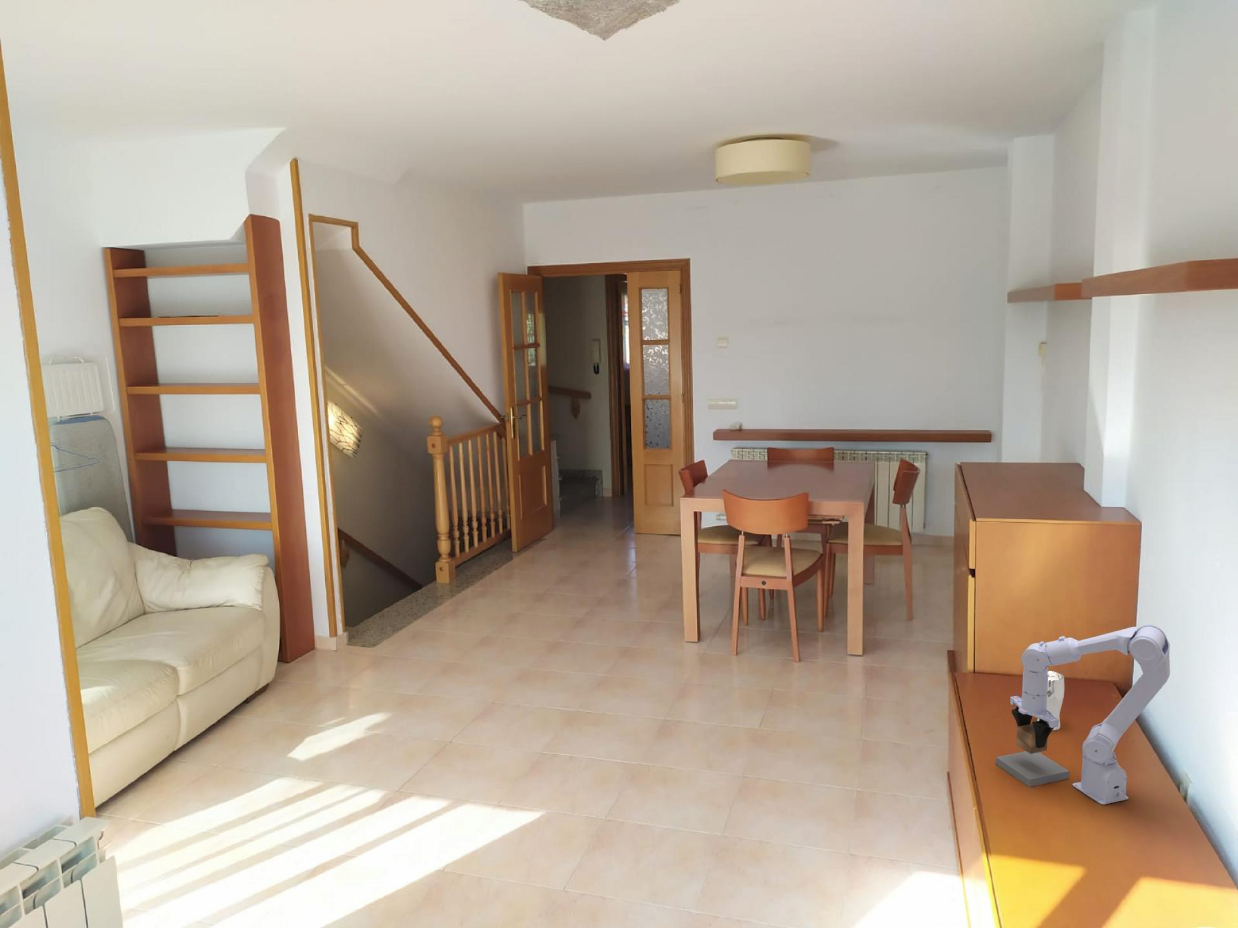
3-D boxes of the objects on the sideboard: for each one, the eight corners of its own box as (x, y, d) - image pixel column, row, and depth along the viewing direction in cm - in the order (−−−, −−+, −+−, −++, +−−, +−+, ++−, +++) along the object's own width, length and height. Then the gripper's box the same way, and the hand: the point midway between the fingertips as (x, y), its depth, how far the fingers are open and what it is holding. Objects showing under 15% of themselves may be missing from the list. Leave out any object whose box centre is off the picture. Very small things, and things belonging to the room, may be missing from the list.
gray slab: (1068, 780, 223) (1069, 771, 223) (1029, 788, 220) (1029, 779, 219) (1034, 758, 234) (1034, 749, 234) (995, 765, 231) (996, 756, 231)
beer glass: (1059, 733, 246) (1062, 682, 244) (1032, 726, 250) (1034, 676, 248) (1064, 723, 252) (1067, 673, 249) (1037, 717, 256) (1040, 668, 253)
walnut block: (1046, 750, 223) (1047, 731, 223) (1030, 753, 222) (1031, 735, 221) (1032, 741, 228) (1033, 723, 227) (1016, 744, 227) (1017, 726, 226)
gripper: (1001, 682, 228) (999, 731, 231) (1043, 705, 215) (1040, 757, 217) (1023, 678, 230) (1021, 727, 233) (1066, 701, 217) (1063, 752, 219)
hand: (1032, 741), depth 225 cm, fingers closed on walnut block, 5 cm apart
